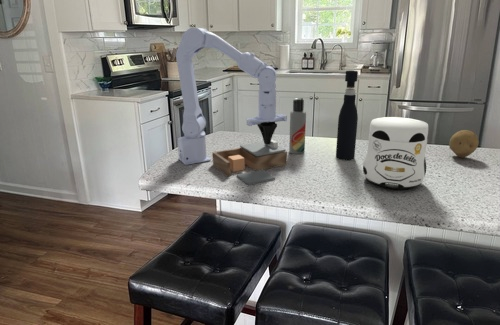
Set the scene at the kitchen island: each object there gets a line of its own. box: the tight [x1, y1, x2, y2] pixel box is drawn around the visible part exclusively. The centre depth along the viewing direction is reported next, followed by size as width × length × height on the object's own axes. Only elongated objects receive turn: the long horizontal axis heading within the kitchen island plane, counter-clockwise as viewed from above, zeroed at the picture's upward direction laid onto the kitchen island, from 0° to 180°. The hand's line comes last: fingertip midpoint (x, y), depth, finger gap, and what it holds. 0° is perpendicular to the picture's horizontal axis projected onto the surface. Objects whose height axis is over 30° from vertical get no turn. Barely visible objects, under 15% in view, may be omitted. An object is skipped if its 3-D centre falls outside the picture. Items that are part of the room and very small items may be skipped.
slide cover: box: [239, 138, 287, 156], centre depth 126 cm, size 11×12×3 cm
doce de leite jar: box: [362, 116, 429, 190], centre depth 107 cm, size 17×17×18 cm
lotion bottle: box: [288, 97, 307, 155], centre depth 135 cm, size 6×6×20 cm
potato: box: [448, 129, 480, 159], centre depth 129 cm, size 9×9×10 cm
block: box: [228, 155, 246, 172], centre depth 122 cm, size 4×4×4 cm
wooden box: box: [211, 147, 288, 177], centre depth 125 cm, size 22×12×4 cm, turn 118°
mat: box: [236, 169, 276, 186], centre depth 114 cm, size 9×8×1 cm
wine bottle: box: [335, 70, 359, 161], centre depth 127 cm, size 6×6×30 cm
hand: (267, 143), depth 127 cm, fingers closed
